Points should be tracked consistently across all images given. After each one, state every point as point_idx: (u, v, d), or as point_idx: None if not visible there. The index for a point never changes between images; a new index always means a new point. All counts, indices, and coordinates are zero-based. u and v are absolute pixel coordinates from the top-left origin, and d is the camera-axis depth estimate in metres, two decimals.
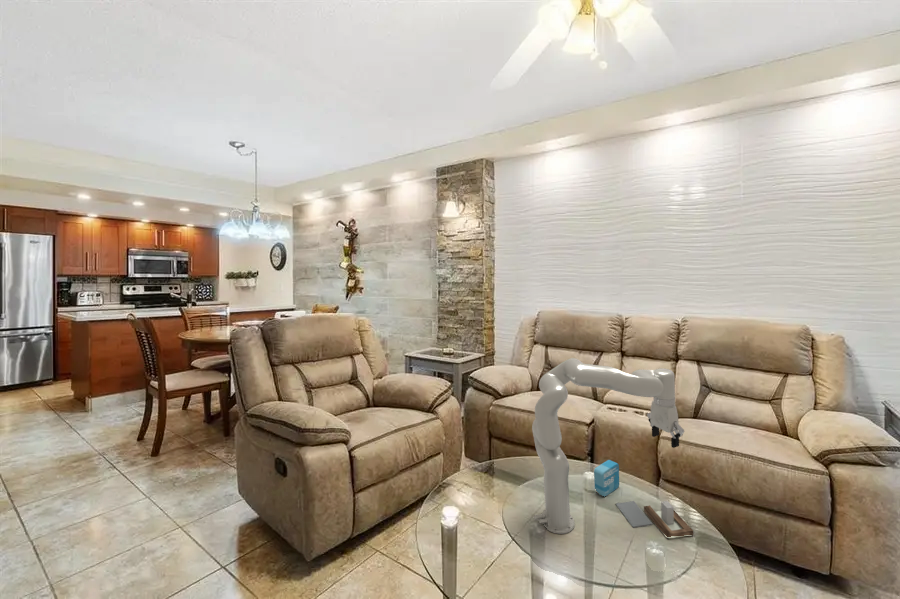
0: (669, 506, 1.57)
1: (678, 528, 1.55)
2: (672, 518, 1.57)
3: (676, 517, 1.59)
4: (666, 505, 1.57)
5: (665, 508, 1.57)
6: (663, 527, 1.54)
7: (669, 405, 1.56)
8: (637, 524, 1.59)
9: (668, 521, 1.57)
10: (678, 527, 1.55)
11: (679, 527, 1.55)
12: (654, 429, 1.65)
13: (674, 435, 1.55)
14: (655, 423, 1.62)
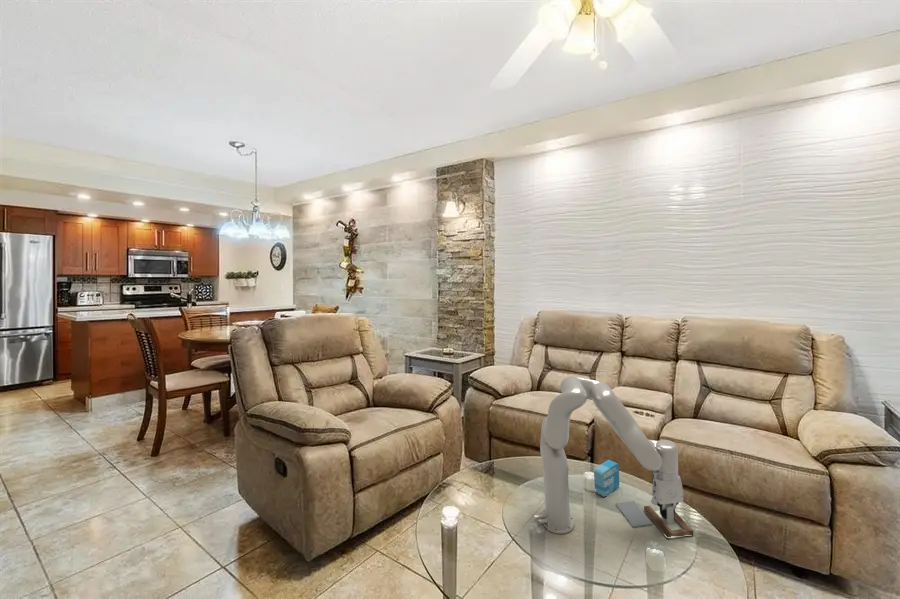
0: (669, 505, 1.57)
1: (678, 527, 1.55)
2: (672, 517, 1.57)
3: (676, 517, 1.59)
4: (666, 504, 1.57)
5: (665, 507, 1.57)
6: (663, 527, 1.54)
7: None
8: (637, 524, 1.59)
9: (668, 520, 1.57)
10: (678, 526, 1.55)
11: (679, 526, 1.55)
12: None
13: (676, 505, 1.57)
14: (666, 501, 1.55)
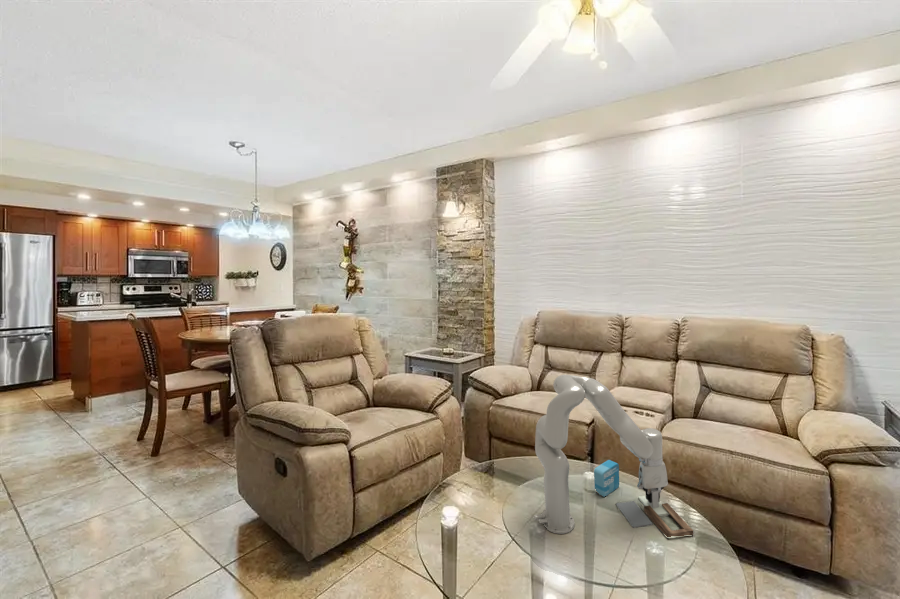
0: (654, 490, 1.66)
1: (663, 510, 1.64)
2: (657, 501, 1.66)
3: (676, 517, 1.59)
4: (652, 489, 1.67)
5: (651, 492, 1.67)
6: (663, 527, 1.54)
7: None
8: (637, 524, 1.59)
9: (653, 504, 1.66)
10: (663, 510, 1.65)
11: (664, 510, 1.65)
12: None
13: (660, 489, 1.67)
14: (651, 486, 1.64)
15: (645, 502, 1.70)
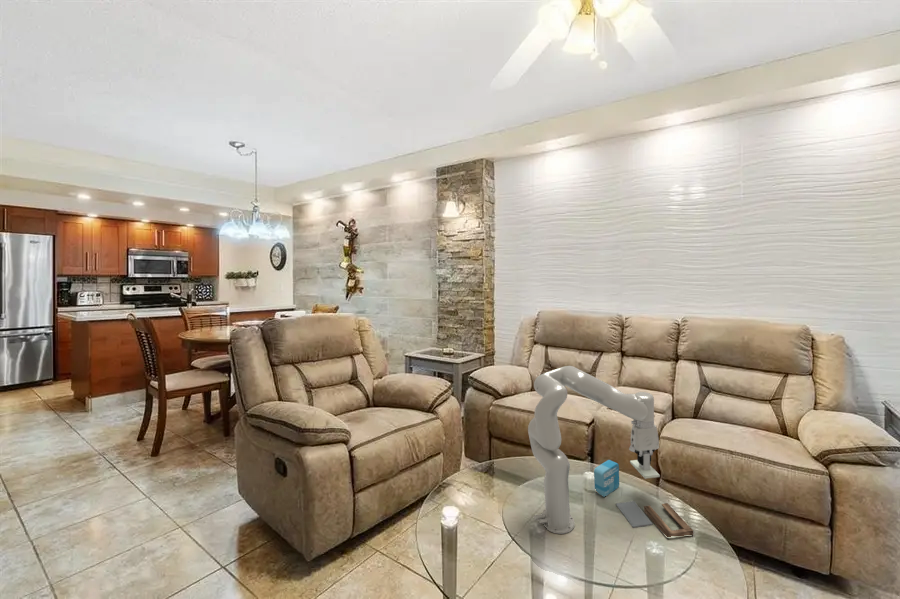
0: (645, 453, 1.70)
1: (653, 472, 1.68)
2: (648, 464, 1.70)
3: (676, 517, 1.59)
4: (643, 452, 1.71)
5: (642, 455, 1.70)
6: (663, 527, 1.54)
7: None
8: (637, 524, 1.59)
9: (644, 466, 1.70)
10: (653, 472, 1.68)
11: (654, 472, 1.68)
12: None
13: None
14: (643, 448, 1.68)
15: (636, 465, 1.74)
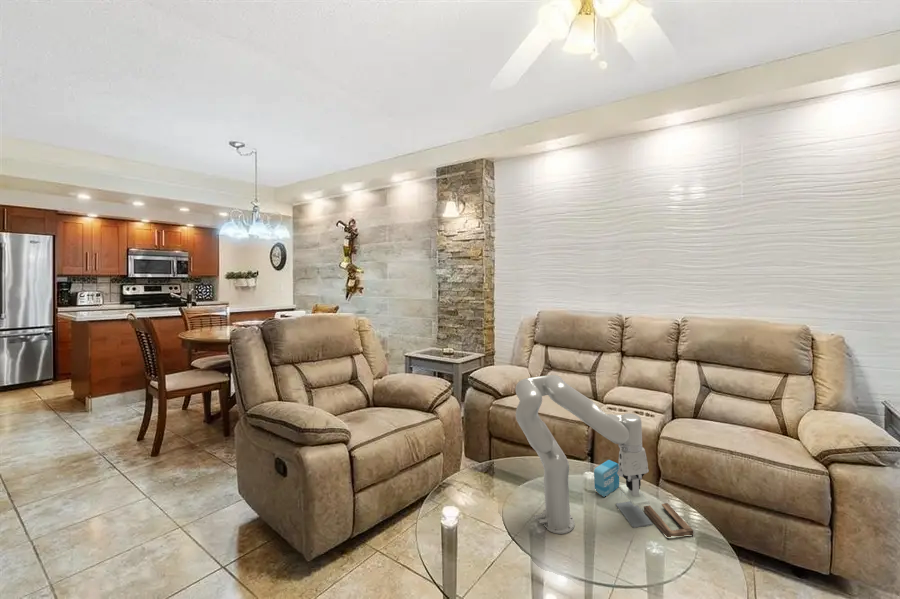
0: (634, 478, 1.62)
1: (643, 499, 1.60)
2: (637, 489, 1.62)
3: (676, 517, 1.59)
4: (632, 477, 1.62)
5: (631, 480, 1.62)
6: (663, 527, 1.54)
7: None
8: (637, 524, 1.59)
9: (634, 492, 1.62)
10: (643, 498, 1.60)
11: (644, 498, 1.60)
12: None
13: None
14: (631, 473, 1.59)
15: (626, 491, 1.66)
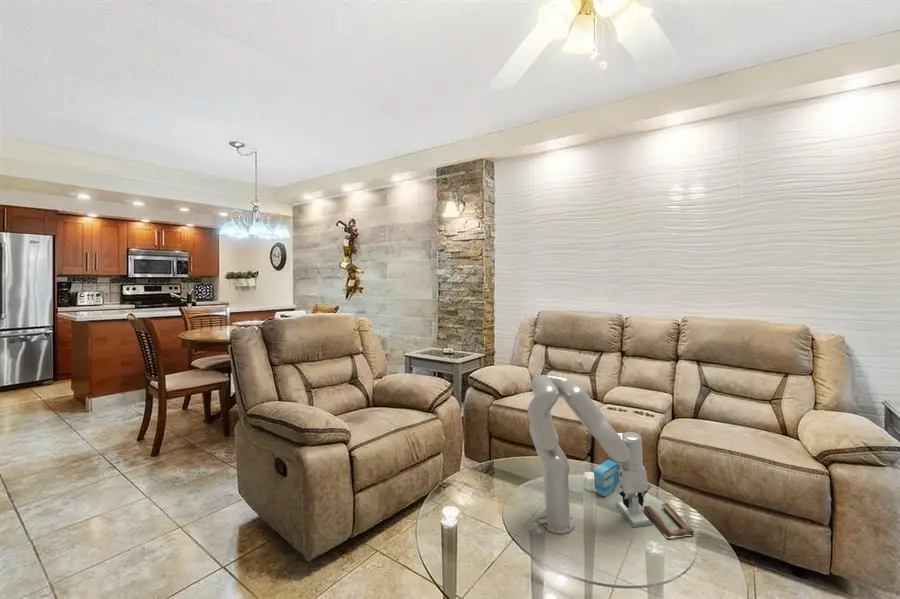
0: (634, 496, 1.63)
1: (642, 517, 1.61)
2: (637, 508, 1.63)
3: (676, 517, 1.59)
4: (632, 495, 1.64)
5: (630, 498, 1.63)
6: (663, 527, 1.54)
7: None
8: (637, 524, 1.59)
9: (633, 511, 1.63)
10: (643, 516, 1.61)
11: (643, 516, 1.61)
12: None
13: (644, 493, 1.63)
14: (631, 491, 1.61)
15: (625, 508, 1.67)
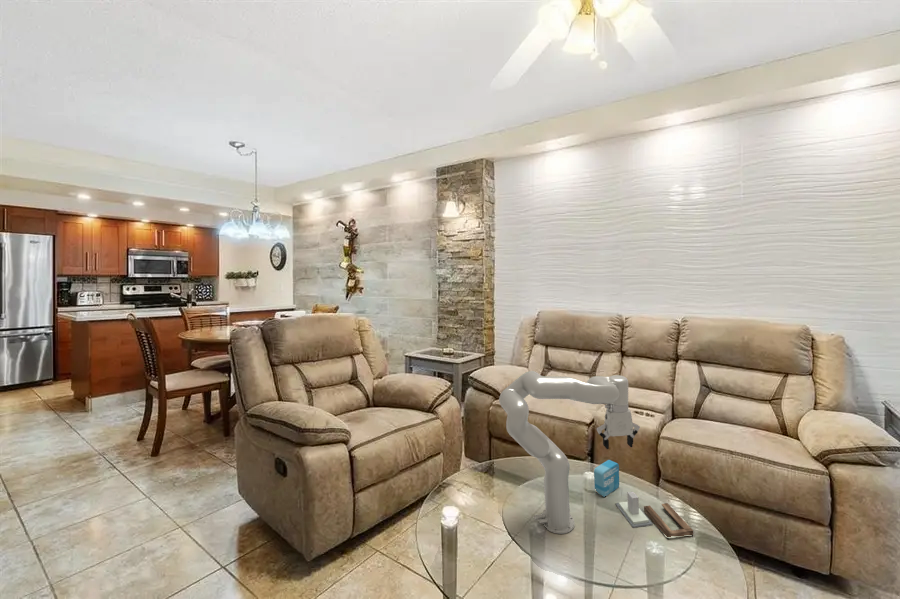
0: (634, 496, 1.63)
1: (642, 517, 1.61)
2: (637, 508, 1.63)
3: (676, 517, 1.59)
4: (632, 495, 1.64)
5: (630, 498, 1.63)
6: (663, 527, 1.54)
7: (627, 408, 1.62)
8: (637, 524, 1.59)
9: (633, 511, 1.63)
10: (643, 516, 1.61)
11: (643, 516, 1.61)
12: None
13: (633, 434, 1.63)
14: (616, 433, 1.61)
15: (625, 508, 1.67)
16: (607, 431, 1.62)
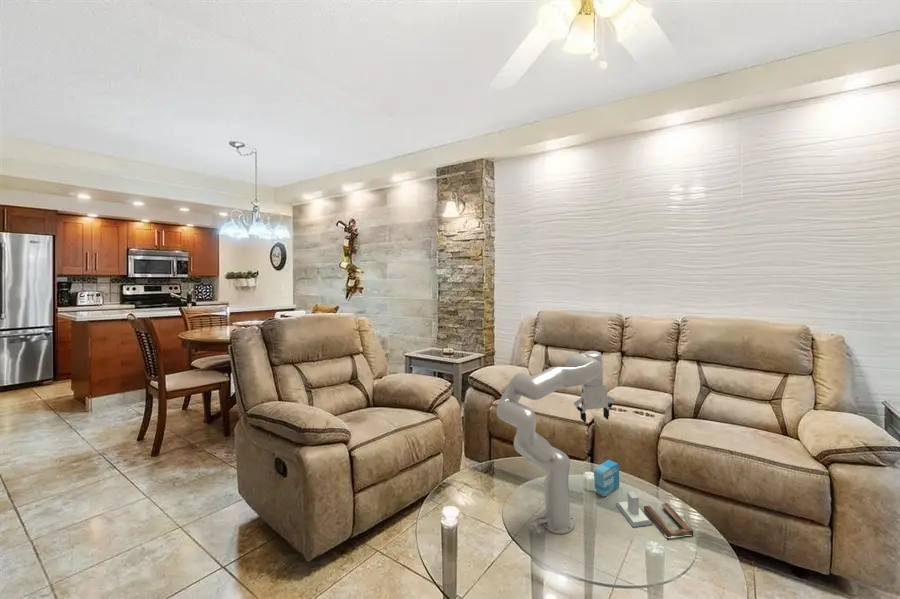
0: (634, 496, 1.63)
1: (642, 517, 1.61)
2: (637, 508, 1.63)
3: (676, 517, 1.59)
4: (632, 495, 1.64)
5: (630, 498, 1.63)
6: (663, 527, 1.54)
7: None
8: (637, 524, 1.59)
9: (633, 511, 1.63)
10: (643, 516, 1.61)
11: (643, 516, 1.61)
12: None
13: (608, 407, 1.71)
14: (592, 406, 1.68)
15: (625, 508, 1.67)
16: (584, 405, 1.69)
